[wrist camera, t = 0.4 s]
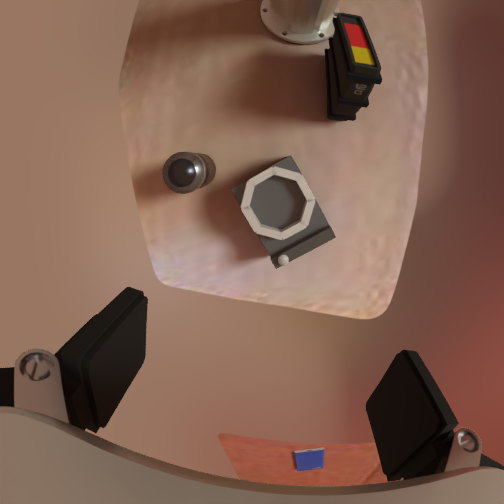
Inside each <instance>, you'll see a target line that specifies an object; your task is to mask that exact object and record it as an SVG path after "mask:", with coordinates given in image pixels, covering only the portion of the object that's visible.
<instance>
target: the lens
mask: <svg viewBox="0 0 504 504" xmlns="http://www.w3.org/2000/svg"><path fill="white" fill-rule="evenodd" d="M215 173H216V167H215V164H214V162H213V160H212V159H211V158H210V157H209V156H207V155H205V154H200V153H191V152H179V153H176V154H174V155H172V156H171V157H170V158H169V159H168V160H167V161H166V163H165V165H164V168H163V178H164V181H165V184H166V185H167V186H168V188H169V189H171V190H172V191H174V192H176V193H182V194H183V193H189V192H192V191H195V190H196V189H199V188H202V187H205V186H207V185H208V184H210V183H211V182H212V180H213V179H214V177H215Z"/></svg>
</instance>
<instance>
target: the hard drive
mask: <svg viewBox="0 0 504 504" xmlns="http://www.w3.org/2000/svg"><path fill="white" fill-rule="evenodd" d="M294 454H295V460H296V467H297V471H304V470H312V469H320V468H324V447H323V448H316V449H308V450H300V451H294Z"/></svg>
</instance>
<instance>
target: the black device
mask: <svg viewBox="0 0 504 504" xmlns="http://www.w3.org/2000/svg"><path fill="white" fill-rule="evenodd" d="M332 22H333V25H334V28H335V31H334V35H333V38H332V37H329V45H330V48H329V49H325V61H326V77H327V117H328V119H333V120H342V121H347V120H352V121H354V120H356V113H357V112H358V111H359V109H360V108H361V107H367V106H368V105H369V101H368V96H369V94H370V93H371V91H372V88H373V86H374V84H381V82H382V78H381V74H380V71H381V66H380V63H379V60H378V57H377V54H376V51H375V49H374V46H373V43H372V41H371V38H370V36H369V33H368V31H367V28H366V26H365V23H364V21H363V19H362V17H361V16H357V15H351V14H345V13H338V15H337V18H334V17H333V21H332Z"/></svg>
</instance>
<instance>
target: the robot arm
mask: <svg viewBox="0 0 504 504" xmlns="http://www.w3.org/2000/svg"><path fill="white" fill-rule="evenodd" d="M338 2H339V0H263V1H262V3H261V7H260V14H261V19H262V21H263V23H264V25H265V26H266V28H267V29H268V30H269V31H270V32H272V33H273V34H274V35H276V36H277V37H279V38H281V39H283V40H286V41H288V42H292V43H297V44H315V43H320V42H323V41H325V40H327V39H329V37H332V36H333V35H334V31H335V28H334V25H333V22H332V21H333V17H334V18H337V15H338V13H340V10H339V8H338V6H337V5H338ZM284 35H285V36H284ZM321 37H322V38H321ZM147 304H148V299H147V297H145V296H144V293H143V291H139V290H136V289H134V288H131V287H127V288H125V289H124V290H123V291H122V292H121V293H120V294H119V295H118V296H117V297H116V298H115V299H113V301H111V302H110V303H109V304H108V305H107V306H106V307H105V308H104V309H103V310H102V311H101V312H100V313H99V314H96V315H95V316H94V317H92V318H91V319H90V320H89V321H88V322H87V323H86V324H85V325H84V326H83V327H82V328H81V329H80V330H79V331H78V332H77V333H76V334H75V335H74V336H73V337H72V338H71V339H70V340H69V341H68V342H66V343H65V344H64V346H62V347H61V348H60V350H59V351H58V352H57V353H56V354H55V355H53V354H52V353H50V352H49V351H46V350H43V349H32V350H28V351H26V352H24V353H22V354H21V355H20V356H19V357H18V359H17V360H16V363H15V367H12V368H0V504H504V466H502V465H501V464H499V463H497V462H495V461H494V460H492V459H490V458H489V457H487V456H485V455H483V454H482V453H481V451H482V443H481V440H480V438H479V437H478V435H477V434H476V433H475V432H474V431H472V430H471V429H469V428H460V429H458V430H457V431H456V432H455V433H454V432H453V429H454V428H455V427H456V426H457V424H458V421H457V419H456V417H455V415H454V414H453V412H452V410H451V408H450V406H449V404H448V403H447V401H446V399H445V398H444V396H443V394H442V392H441V391H440V389H439V387H438V385H437V384H436V382H435V380H434V379H433V377H432V375H431V374H430V372H429V370H428V369H427V367H426V366H425V364H424V362H423V361H422V359H421V358H420V356H419V354H418V353H417V352H416V351H408V350H402V351H401V352H400V353H398V354H397V355H396V356H395V358H394V360H393V361H392V363H391V365H390V366H389V368H388V370H387V371H386V373H385V375H384V376H383V378H382V380H381V381H380V383H379V384H378V386H377V387H376V389H375V390H374V392H373V393H372V395H371V396H370V398H369V399H368V401H367V403H366V411H367V414H368V417H369V421H370V424H371V428H372V431H373V435H374V439H375V442H376V446H377V450H378V454H379V458H380V461H381V465H382V469H383V473H384V474H385V475H386V476H387V480H388V482H387V483H379V484H368V485H355V486H292V485H279V484H268V483H260V482H252V481H245V480H239V479H233V478H227V477H222V476H217V475H212V474H208V473H204V472H199V471H195V470H191V469H187V468H184V467H180V466H177V465H173V464H170V463H167V462H163V461H161V460H157V459H155V458H152V457H148V456H146V455H143V454H140V453H137V452H134V451H132V450H129V449H127V448H124V447H121V446H119V445H116V444H114V443H112V442H109V441H107V440H105V439H103V438H100V437H98V436H95V435H93V434H91V433H88V432H86V431H85V429H86V428H87V429H89V430H91V431H93V432H95V433H97V430H98V429H99V428H100V427H102V428H104V427H105V426H106V425H107V423H108V422H109V420H110V418H111V416H112V415H113V413H114V411H115V409H116V408H117V406H118V404H119V403H120V401H121V399H122V398H123V396H124V394H125V392H126V391H127V389H128V387H129V386H130V384H131V382H132V381H133V379H134V378H135V376H136V374H137V373H138V371H139V369H140V368H141V366H142V364H143V362H144V359H145V351H146V350H145V349H146V322H147ZM402 477H403V478H404V480H401V481H396V480H400V479H401V478H402ZM389 481H394V482H389Z"/></svg>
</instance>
